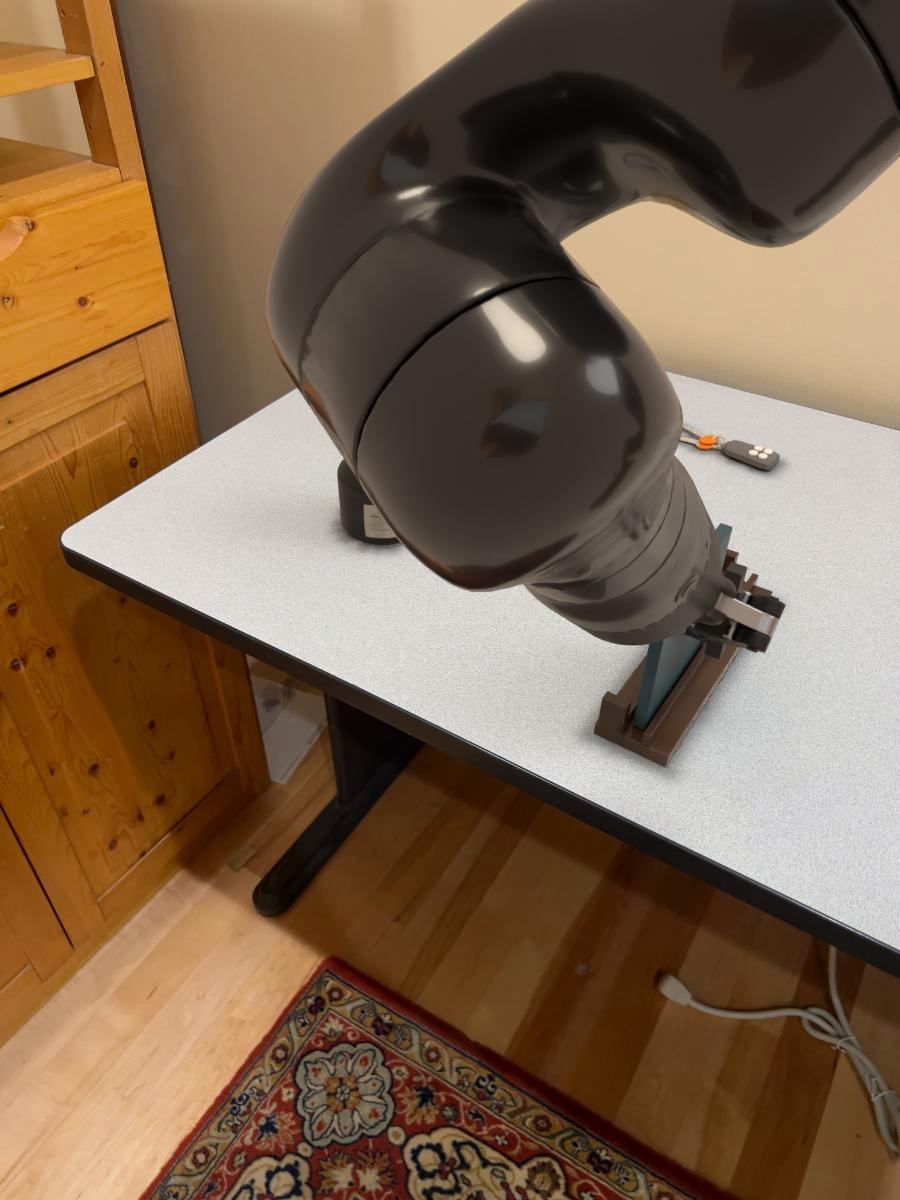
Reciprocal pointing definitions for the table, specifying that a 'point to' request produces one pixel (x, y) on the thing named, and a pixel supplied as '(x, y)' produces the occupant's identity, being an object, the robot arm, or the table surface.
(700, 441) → the key chain
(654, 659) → the sliding door
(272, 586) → the table surface
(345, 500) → the ink bottle
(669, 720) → the door rail
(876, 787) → the table surface
